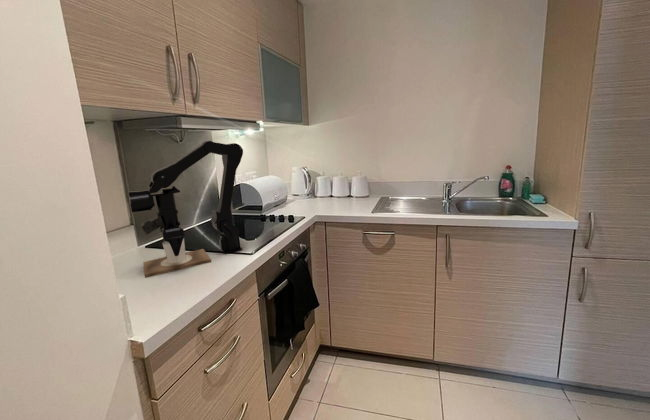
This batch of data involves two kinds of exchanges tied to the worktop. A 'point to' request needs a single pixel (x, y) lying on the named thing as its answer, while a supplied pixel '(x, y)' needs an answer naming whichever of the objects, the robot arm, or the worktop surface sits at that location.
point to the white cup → (170, 254)
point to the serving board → (164, 266)
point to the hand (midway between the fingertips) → (175, 252)
